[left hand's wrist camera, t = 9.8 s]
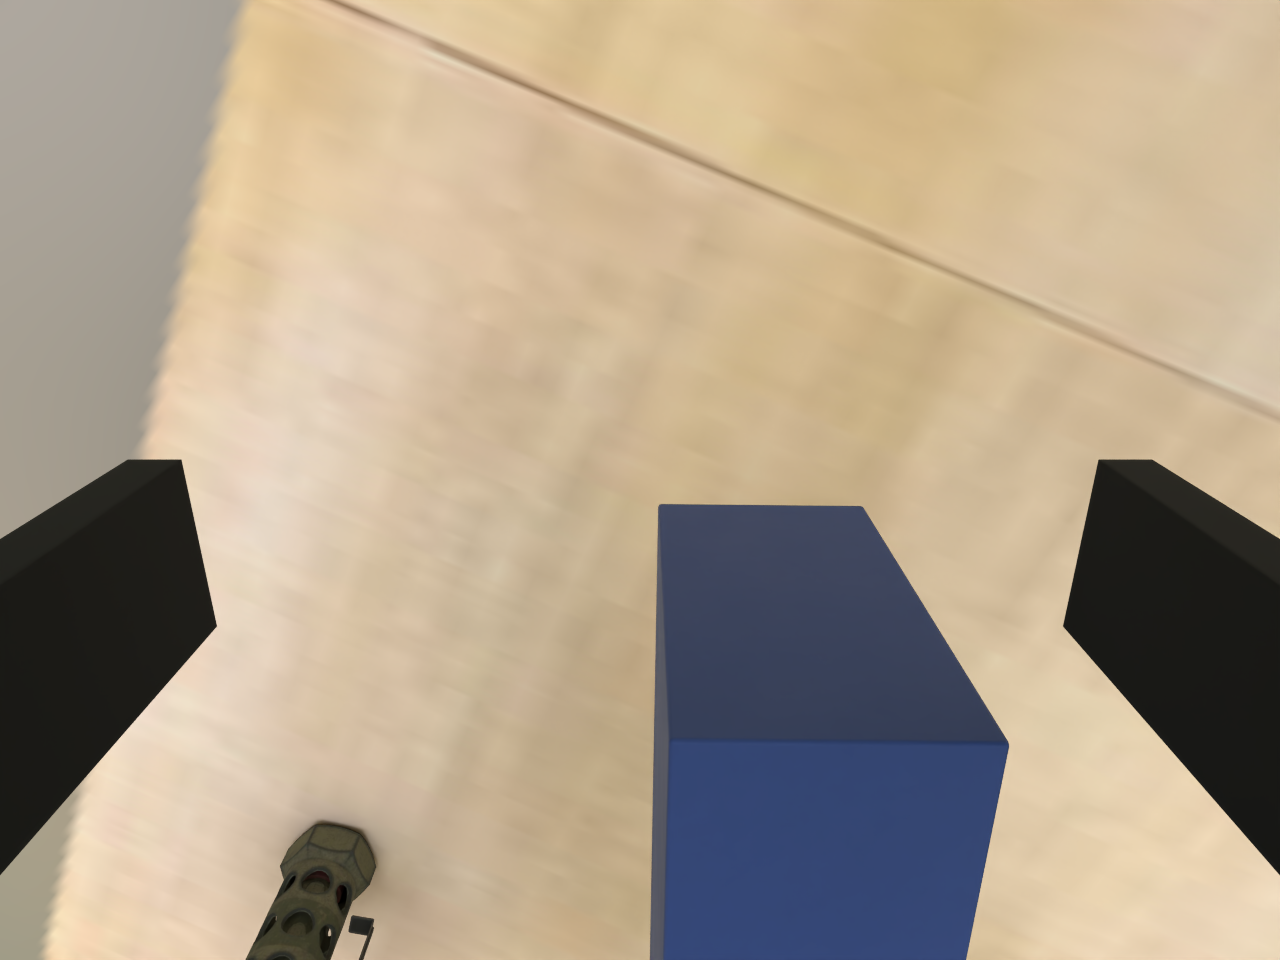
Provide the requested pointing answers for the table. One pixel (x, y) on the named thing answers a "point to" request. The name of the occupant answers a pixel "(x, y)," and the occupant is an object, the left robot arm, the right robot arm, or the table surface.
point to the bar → (809, 747)
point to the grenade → (317, 896)
